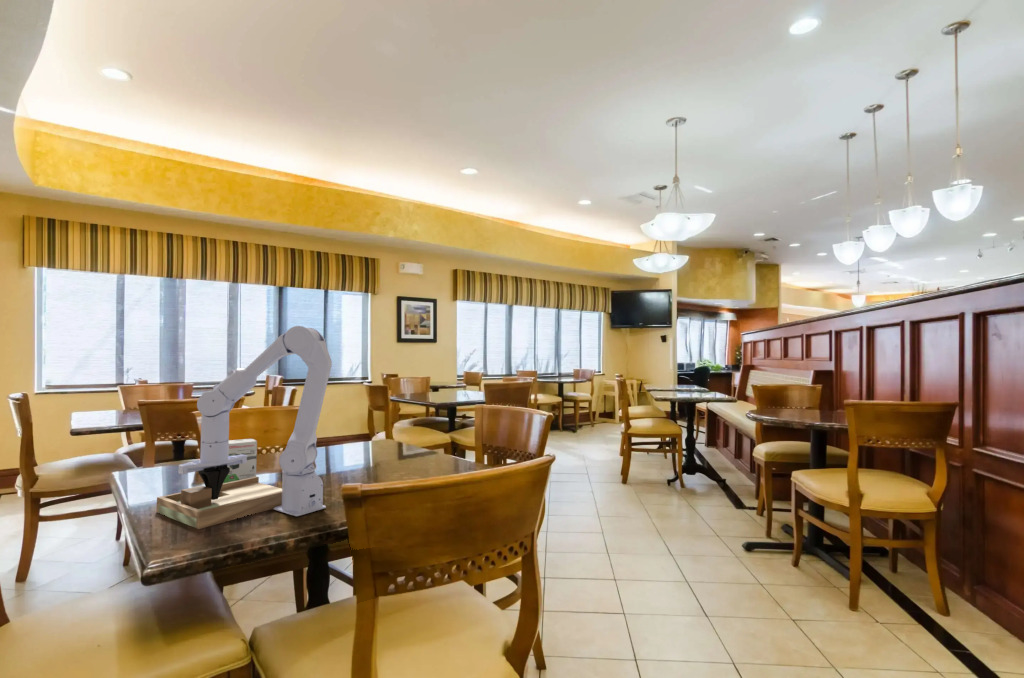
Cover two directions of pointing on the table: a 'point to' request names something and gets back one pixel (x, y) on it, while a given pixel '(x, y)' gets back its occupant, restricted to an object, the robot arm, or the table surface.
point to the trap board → (223, 503)
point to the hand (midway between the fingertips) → (213, 498)
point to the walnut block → (197, 497)
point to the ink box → (244, 469)
